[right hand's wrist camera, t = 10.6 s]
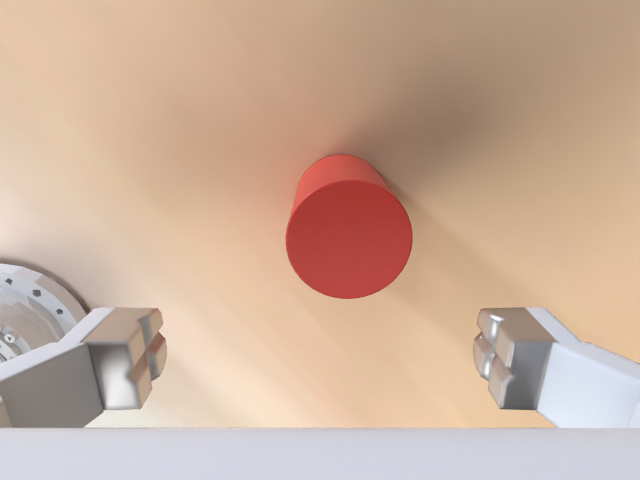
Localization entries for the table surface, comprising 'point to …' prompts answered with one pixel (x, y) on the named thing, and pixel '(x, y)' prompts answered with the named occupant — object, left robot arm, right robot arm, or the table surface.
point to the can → (347, 229)
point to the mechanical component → (33, 311)
